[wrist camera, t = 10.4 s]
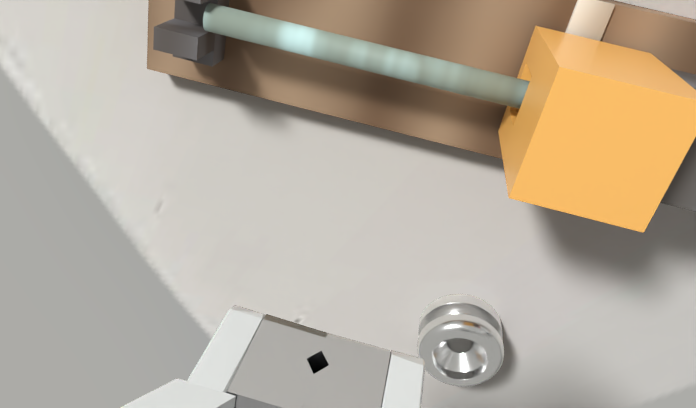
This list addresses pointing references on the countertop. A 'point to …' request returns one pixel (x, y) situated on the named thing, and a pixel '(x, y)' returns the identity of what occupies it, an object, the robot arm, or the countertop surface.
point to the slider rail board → (403, 58)
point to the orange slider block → (596, 129)
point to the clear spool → (460, 340)
